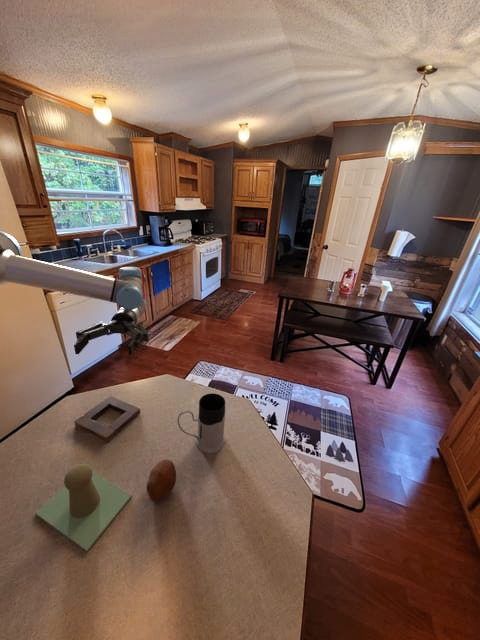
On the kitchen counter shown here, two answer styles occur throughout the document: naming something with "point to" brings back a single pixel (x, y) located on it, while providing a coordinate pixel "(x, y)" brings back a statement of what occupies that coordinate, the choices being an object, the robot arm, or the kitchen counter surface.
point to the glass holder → (209, 423)
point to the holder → (108, 433)
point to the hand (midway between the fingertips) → (103, 350)
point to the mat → (89, 526)
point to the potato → (161, 480)
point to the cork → (81, 491)
